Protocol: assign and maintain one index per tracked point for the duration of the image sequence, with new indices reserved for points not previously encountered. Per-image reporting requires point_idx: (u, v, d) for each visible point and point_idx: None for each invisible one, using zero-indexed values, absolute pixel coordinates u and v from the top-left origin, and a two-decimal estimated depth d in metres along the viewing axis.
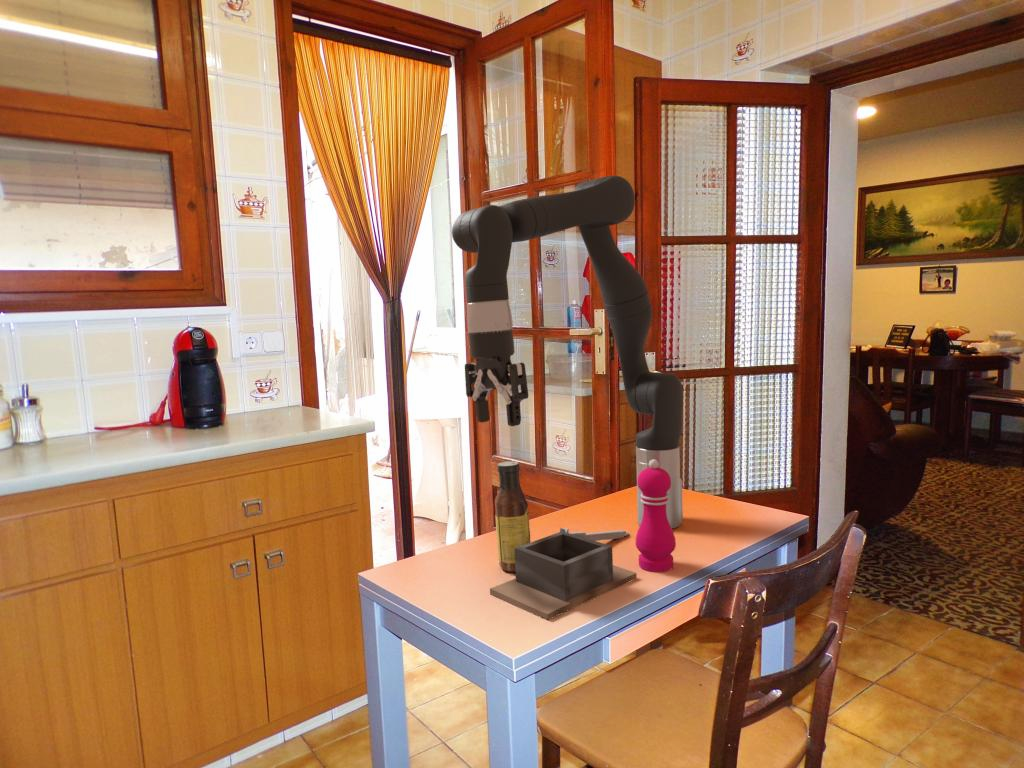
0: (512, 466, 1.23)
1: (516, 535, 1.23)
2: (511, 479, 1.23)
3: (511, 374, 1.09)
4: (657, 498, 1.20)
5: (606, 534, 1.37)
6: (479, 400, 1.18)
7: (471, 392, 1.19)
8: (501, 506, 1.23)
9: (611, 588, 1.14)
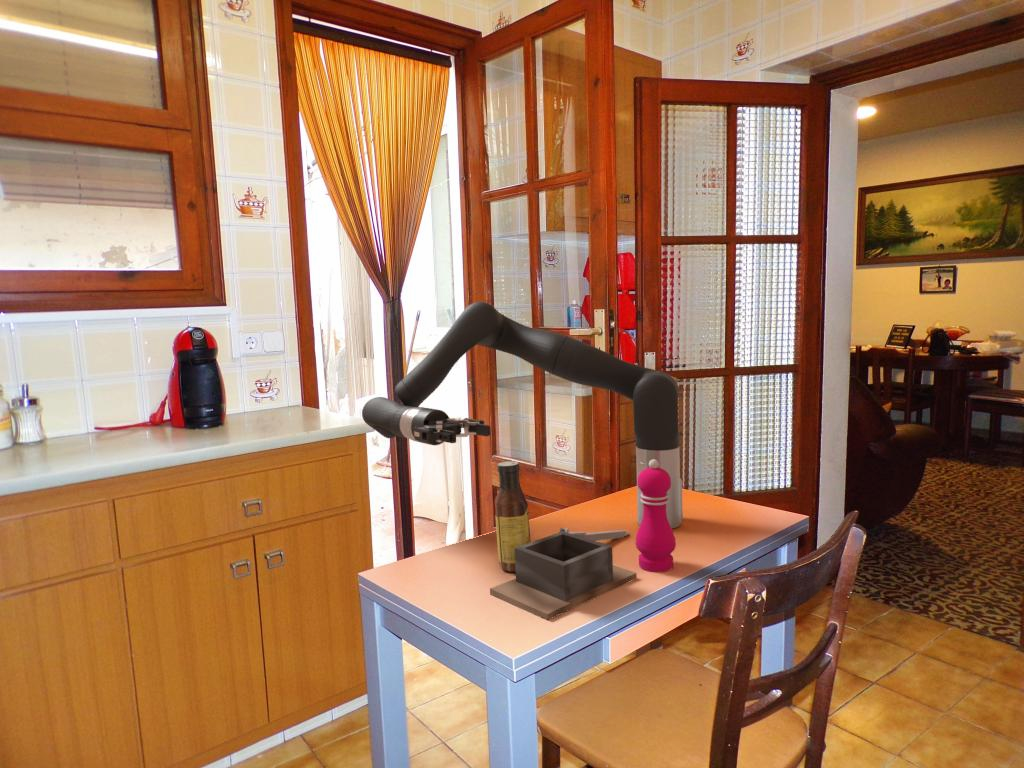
0: (512, 466, 1.23)
1: (516, 535, 1.23)
2: (511, 479, 1.23)
3: None
4: (657, 498, 1.20)
5: (606, 534, 1.37)
6: (476, 431, 1.38)
7: None
8: (501, 506, 1.23)
9: (611, 588, 1.14)
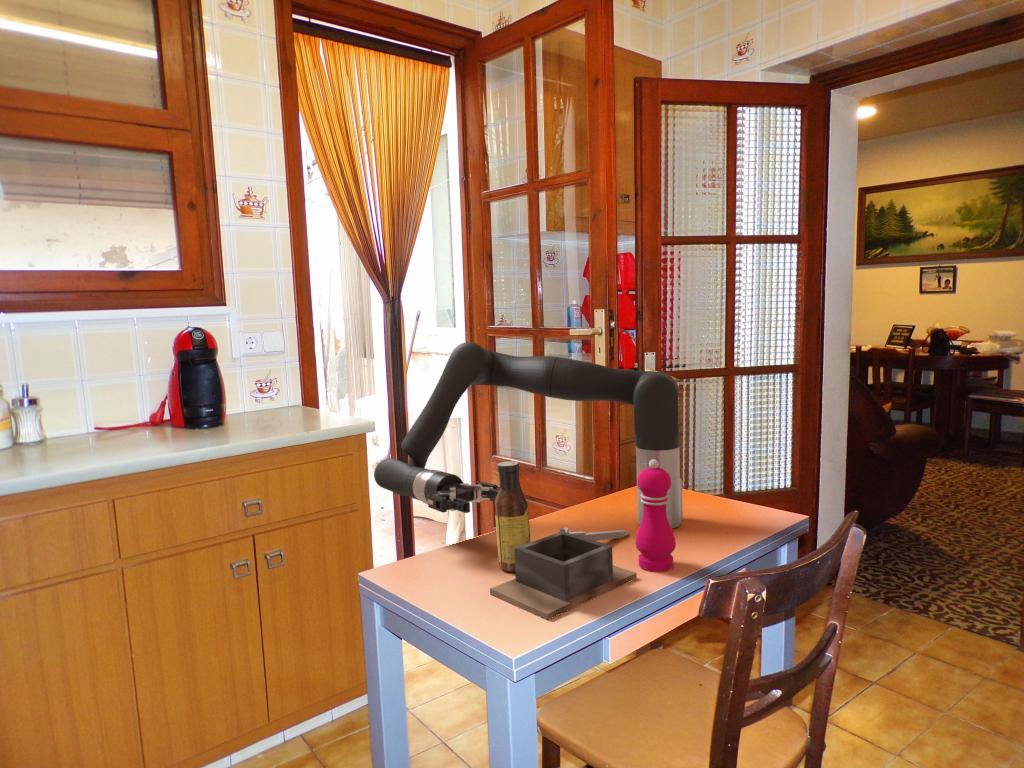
0: (512, 466, 1.23)
1: (516, 535, 1.23)
2: (511, 479, 1.23)
3: None
4: (658, 498, 1.20)
5: (606, 534, 1.37)
6: (489, 497, 1.37)
7: None
8: (501, 506, 1.23)
9: (611, 588, 1.14)
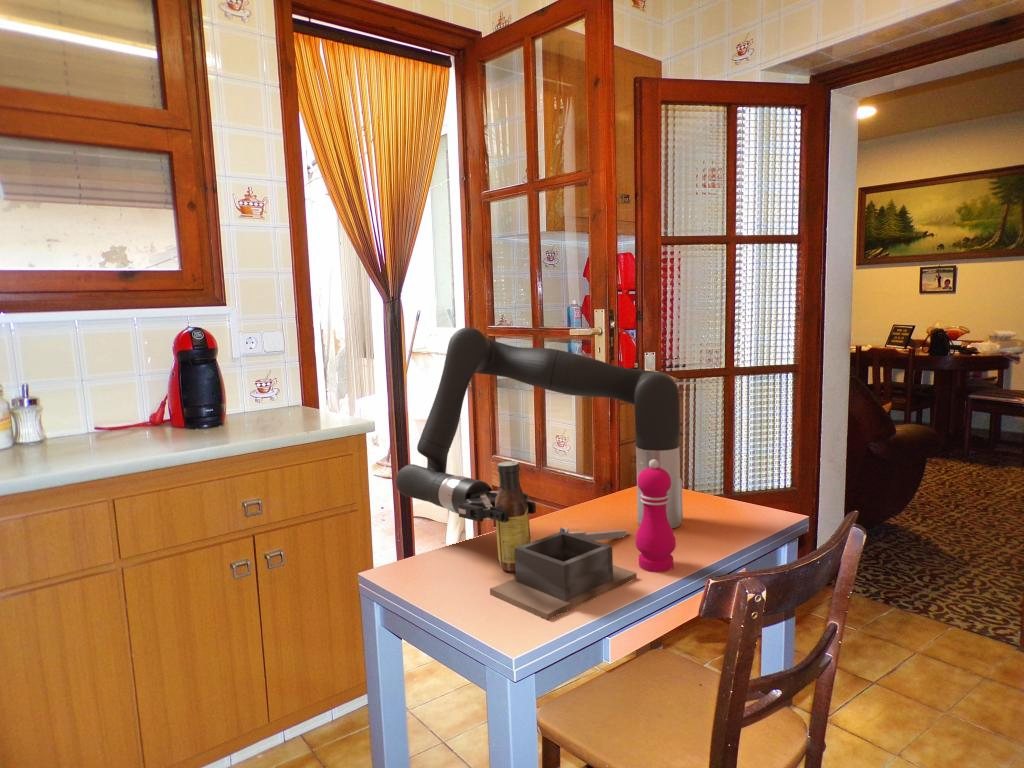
0: (512, 466, 1.23)
1: (516, 535, 1.23)
2: (511, 479, 1.23)
3: None
4: (658, 498, 1.20)
5: (606, 534, 1.37)
6: None
7: None
8: (501, 506, 1.23)
9: (611, 588, 1.14)
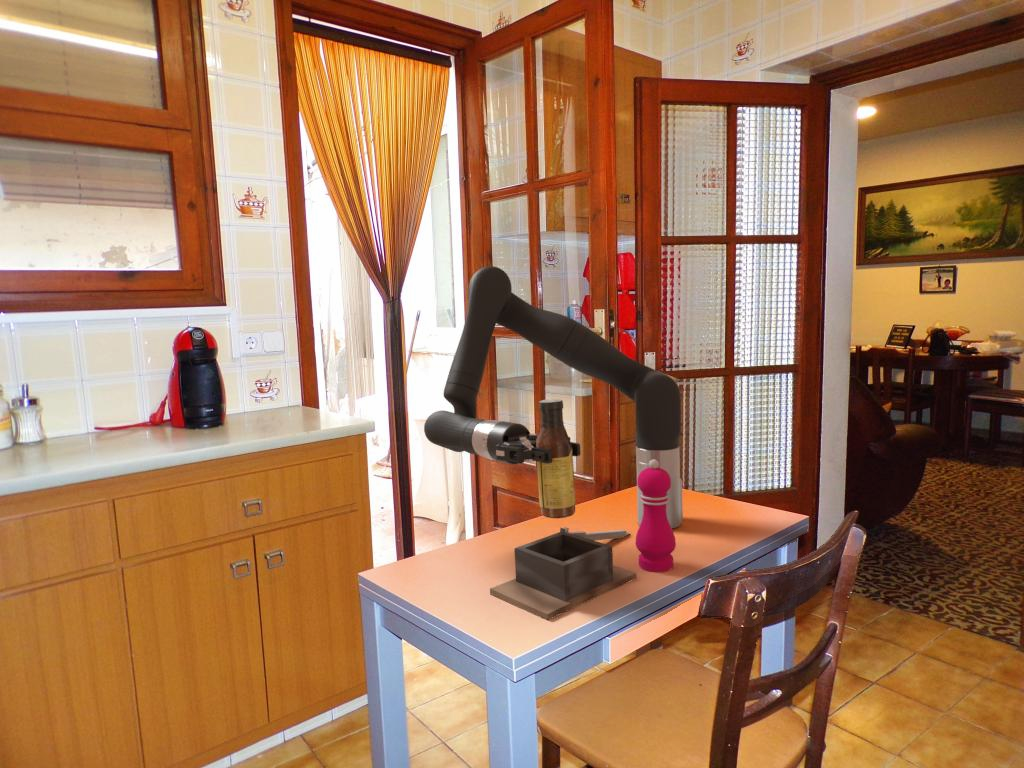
0: (556, 402, 1.13)
1: (560, 478, 1.13)
2: (554, 417, 1.13)
3: None
4: (657, 498, 1.20)
5: (606, 534, 1.37)
6: None
7: None
8: (543, 446, 1.13)
9: (611, 588, 1.14)
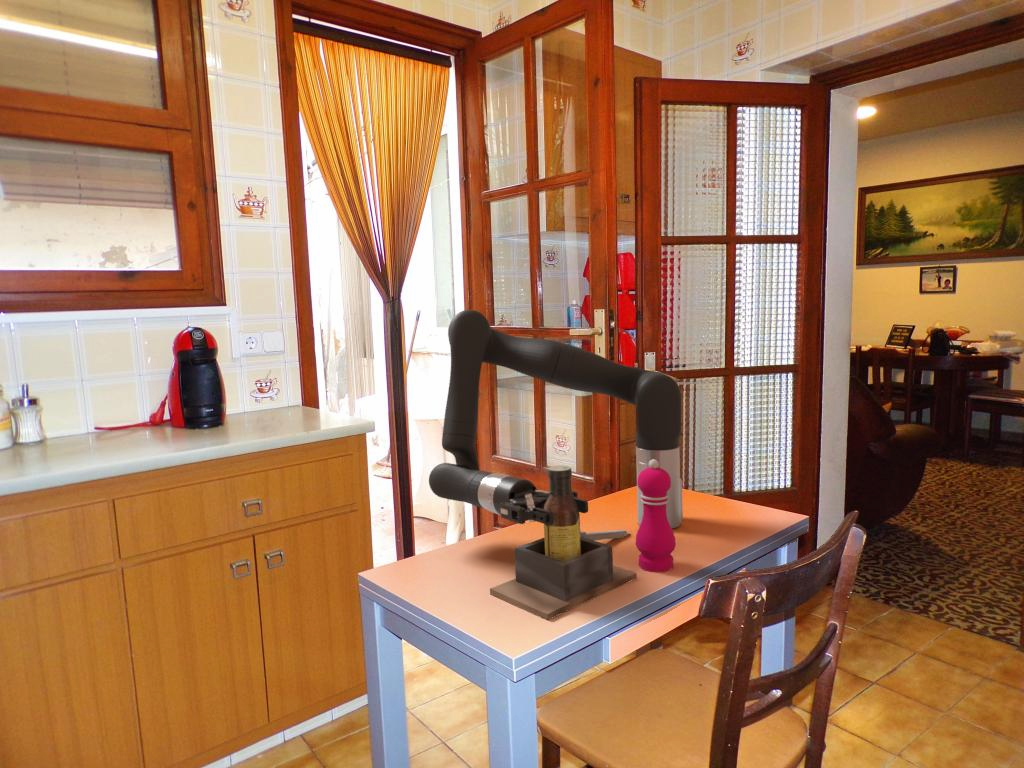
0: (564, 471, 1.13)
1: (567, 546, 1.13)
2: (563, 485, 1.13)
3: None
4: (657, 498, 1.20)
5: (606, 534, 1.37)
6: None
7: None
8: None
9: (611, 588, 1.14)
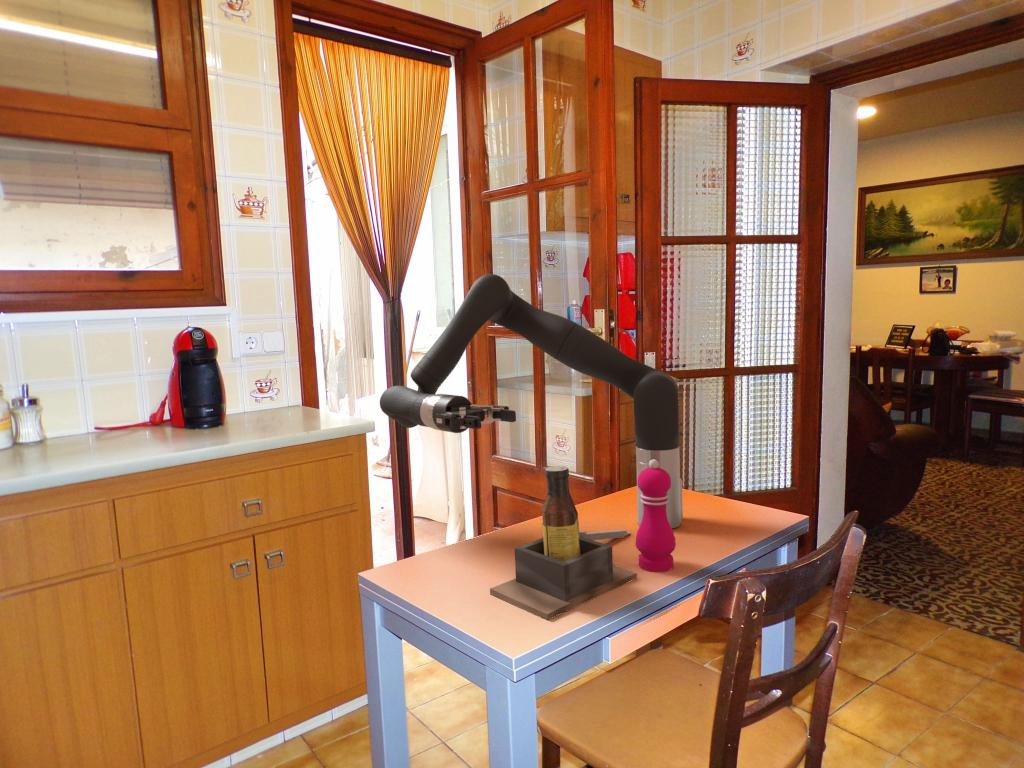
0: (562, 471, 1.13)
1: (566, 546, 1.13)
2: (560, 485, 1.14)
3: None
4: (658, 498, 1.20)
5: (607, 533, 1.37)
6: (501, 417, 1.31)
7: None
8: (549, 514, 1.13)
9: (611, 588, 1.14)
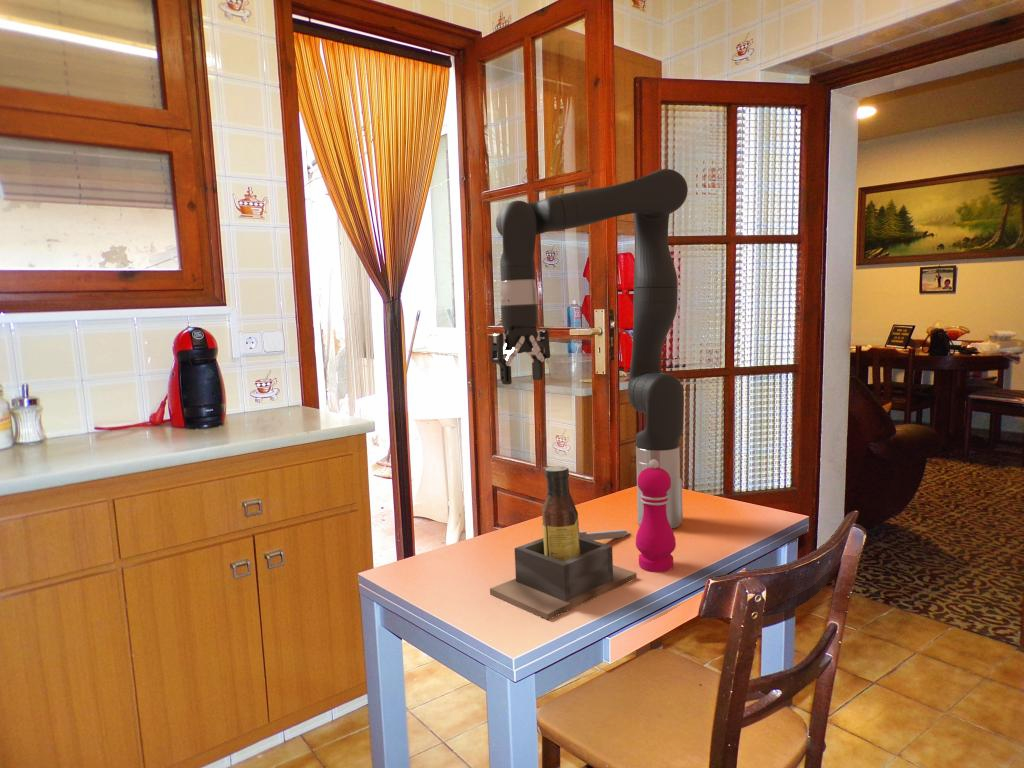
0: (562, 471, 1.13)
1: (566, 546, 1.13)
2: (560, 485, 1.14)
3: None
4: (658, 498, 1.20)
5: (607, 533, 1.37)
6: (534, 361, 1.42)
7: None
8: (549, 514, 1.13)
9: (611, 588, 1.14)
